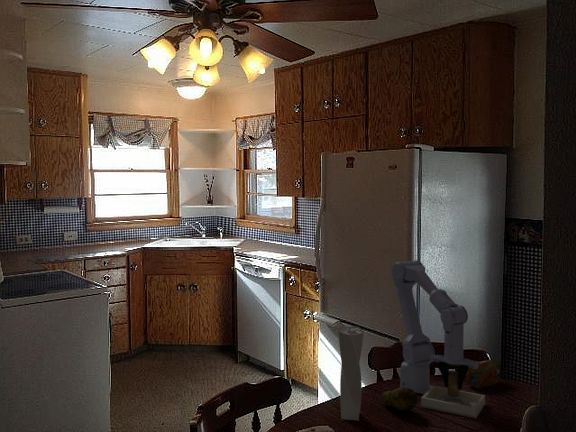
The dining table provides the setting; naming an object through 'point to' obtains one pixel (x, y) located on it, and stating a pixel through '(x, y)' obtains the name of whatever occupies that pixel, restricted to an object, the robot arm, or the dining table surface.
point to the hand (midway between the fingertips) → (453, 387)
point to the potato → (400, 398)
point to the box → (453, 402)
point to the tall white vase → (350, 372)
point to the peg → (453, 384)
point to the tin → (484, 374)
